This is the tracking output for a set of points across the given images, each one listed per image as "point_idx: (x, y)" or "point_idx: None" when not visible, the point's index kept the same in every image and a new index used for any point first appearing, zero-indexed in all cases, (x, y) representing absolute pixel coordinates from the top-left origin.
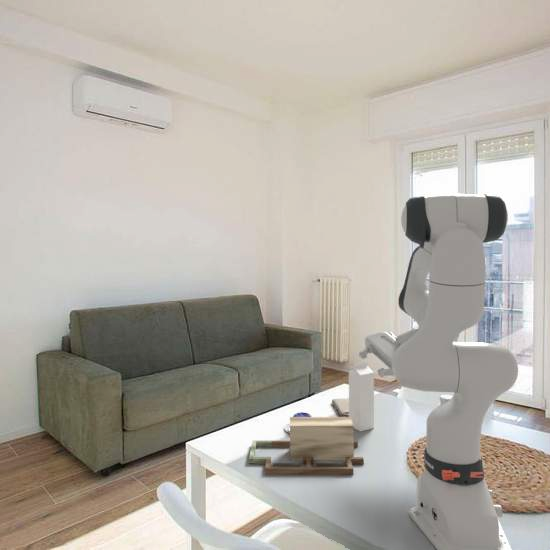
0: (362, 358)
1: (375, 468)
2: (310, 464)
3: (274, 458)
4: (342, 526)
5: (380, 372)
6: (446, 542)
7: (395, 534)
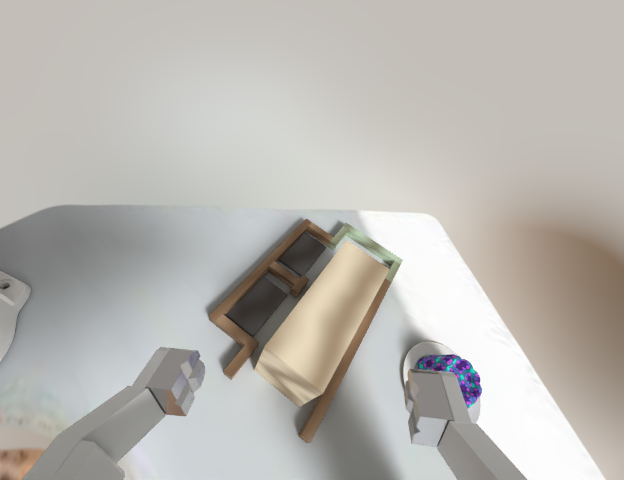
0: (405, 391)
1: None
2: (277, 270)
3: None
4: (125, 205)
5: (164, 347)
6: None
7: (37, 234)
